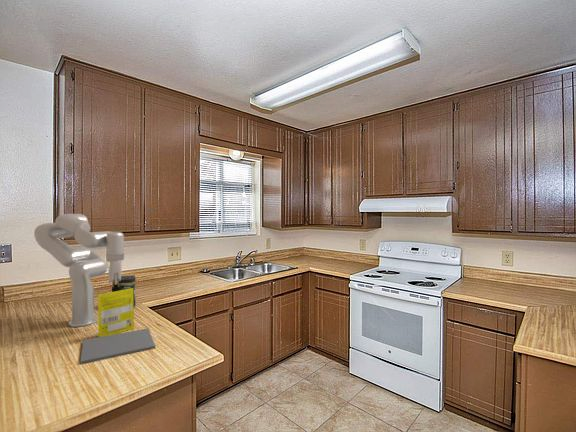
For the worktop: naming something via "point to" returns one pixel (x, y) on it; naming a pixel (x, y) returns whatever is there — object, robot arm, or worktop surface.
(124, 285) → the coffee jar
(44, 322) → the worktop surface
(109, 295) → the food package
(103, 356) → the rubber mat
